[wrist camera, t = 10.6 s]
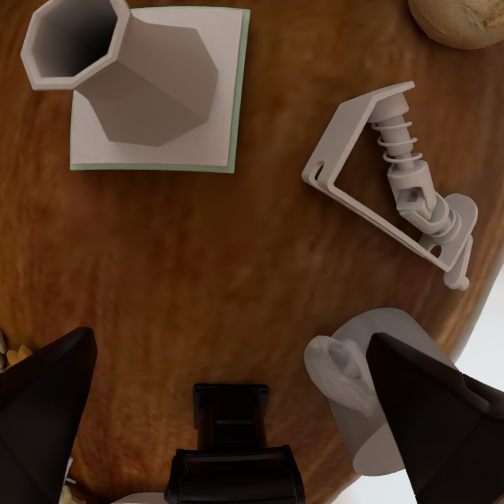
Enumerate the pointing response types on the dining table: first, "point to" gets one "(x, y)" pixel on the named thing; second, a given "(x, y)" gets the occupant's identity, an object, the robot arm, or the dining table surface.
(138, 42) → the flask
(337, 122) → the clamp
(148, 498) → the white plate
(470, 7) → the bread roll
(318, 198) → the dining table surface
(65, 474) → the rocket launcher
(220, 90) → the scale
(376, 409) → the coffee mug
